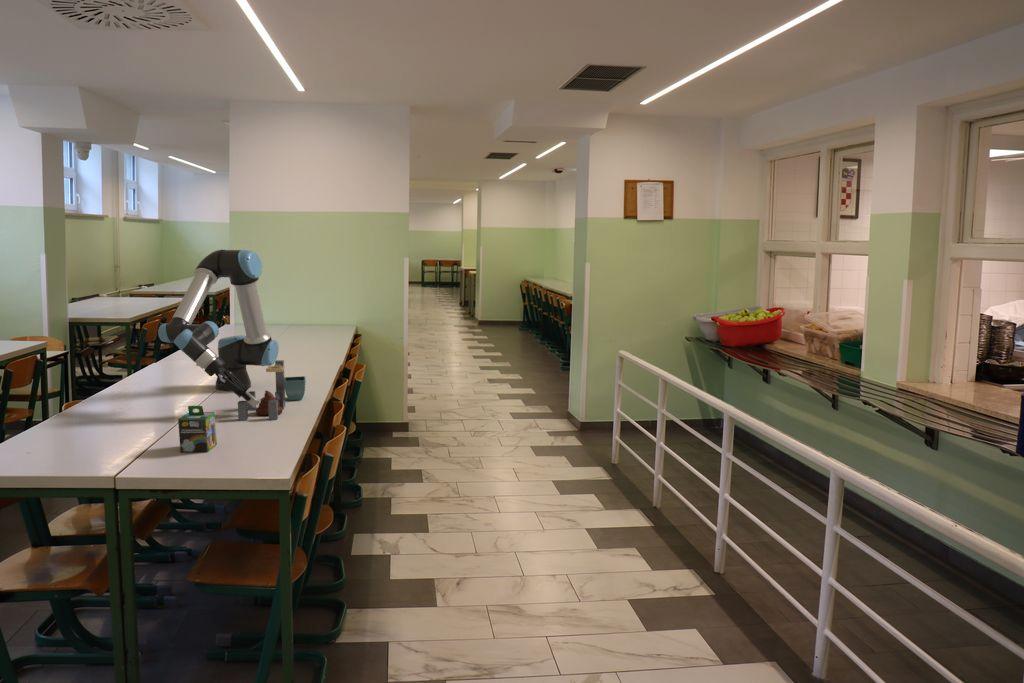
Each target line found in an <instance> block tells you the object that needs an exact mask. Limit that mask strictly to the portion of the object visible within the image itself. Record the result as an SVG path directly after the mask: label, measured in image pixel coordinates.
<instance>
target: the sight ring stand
mask: <svg viewBox="0 0 1024 683" xmlns="http://www.w3.org/2000/svg"><path fill="white" fill-rule="evenodd" d="M265 373H275V392H276V391H284V409H285V408H286V392H285V379H284V377H285V360H284V359H283V360H279V359H276V361H275V363H274V364H273V365H271V366H266V369H265Z"/></svg>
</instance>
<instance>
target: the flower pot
mask: <svg viewBox="0 0 1024 683" xmlns="http://www.w3.org/2000/svg"><path fill="white" fill-rule="evenodd" d="M284 379H285V396H286V397H287V398H288V400H289V401H302V400H303V398H304V396H305V391H306V382H307V379H306V376H301V375H300V376H284Z"/></svg>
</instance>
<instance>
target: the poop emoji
mask: <svg viewBox="0 0 1024 683" xmlns="http://www.w3.org/2000/svg"><path fill="white" fill-rule="evenodd" d="M269 400H276V398H275V395H273V393H272V392H271V391H269V390H265V391H264V395H263V397H262V398H261V399H260V402H259V403H258V407H256V409H255V414H256V415H257V416H262V417H264V416H269V412H268V401H269ZM279 405H280V403H279V401H278V416H279V415H281V414H282V413H283V410H282V407H280V406H279Z"/></svg>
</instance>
